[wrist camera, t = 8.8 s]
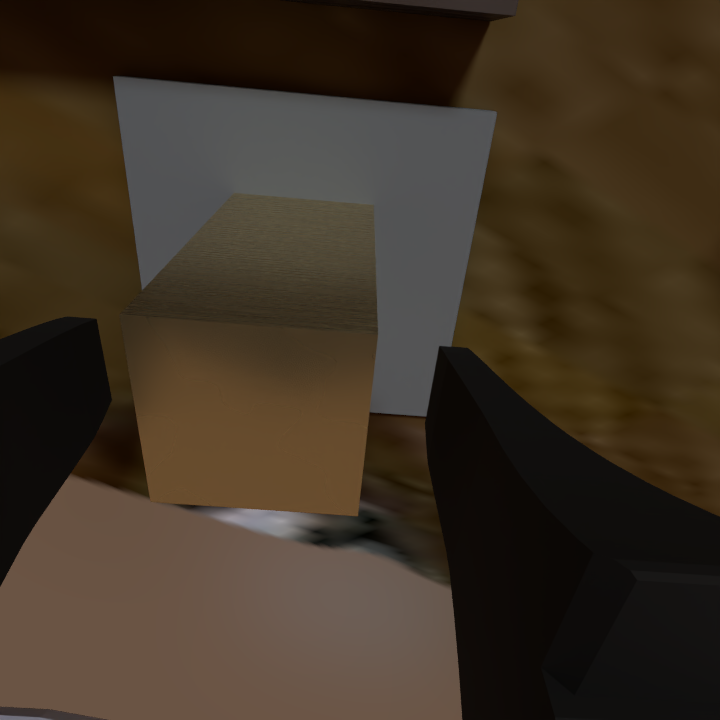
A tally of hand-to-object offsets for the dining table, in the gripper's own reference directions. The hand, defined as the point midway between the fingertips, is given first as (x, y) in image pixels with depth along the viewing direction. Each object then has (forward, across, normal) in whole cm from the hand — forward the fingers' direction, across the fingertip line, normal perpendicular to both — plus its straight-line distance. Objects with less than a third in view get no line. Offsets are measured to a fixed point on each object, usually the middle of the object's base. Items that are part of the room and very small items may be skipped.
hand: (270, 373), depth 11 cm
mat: (+6, 0, 0) cm, 6 cm away
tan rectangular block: (+6, 0, 0) cm, 6 cm away
